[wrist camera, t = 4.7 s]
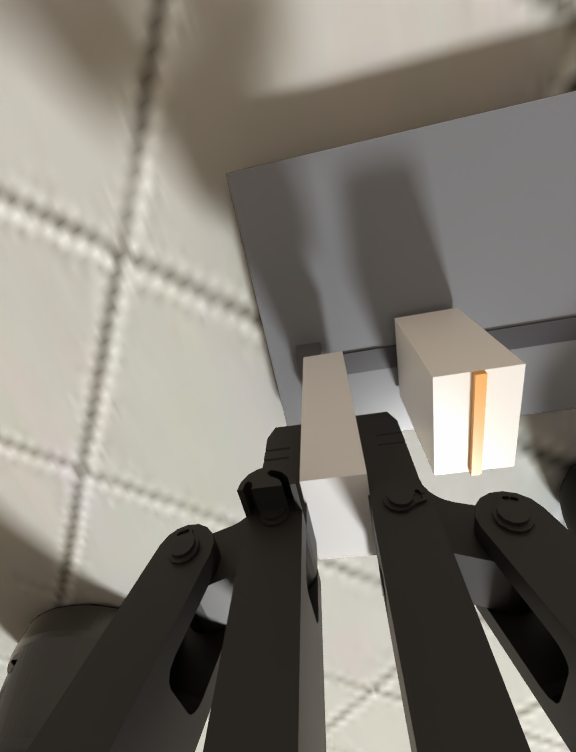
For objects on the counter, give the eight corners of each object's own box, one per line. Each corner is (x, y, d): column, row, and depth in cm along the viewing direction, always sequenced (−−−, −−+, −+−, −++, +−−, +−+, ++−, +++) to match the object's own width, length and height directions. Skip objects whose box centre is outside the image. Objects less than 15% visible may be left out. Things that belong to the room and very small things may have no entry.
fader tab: (399, 394, 16) (436, 479, 11) (394, 318, 14) (435, 380, 10) (456, 387, 16) (517, 470, 11) (457, 307, 14) (529, 367, 9)
